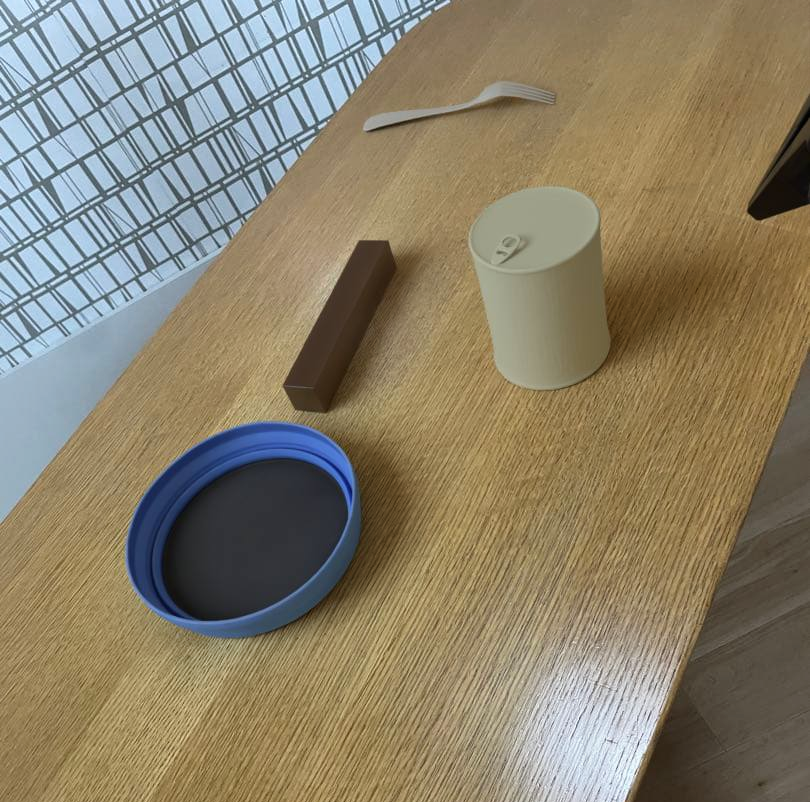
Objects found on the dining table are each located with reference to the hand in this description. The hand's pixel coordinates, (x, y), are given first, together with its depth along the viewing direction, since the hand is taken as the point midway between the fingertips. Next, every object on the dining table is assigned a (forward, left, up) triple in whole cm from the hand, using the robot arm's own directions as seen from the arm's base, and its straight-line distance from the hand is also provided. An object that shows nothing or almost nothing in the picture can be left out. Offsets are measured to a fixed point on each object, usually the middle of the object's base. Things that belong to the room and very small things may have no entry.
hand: (752, 212), depth 52 cm
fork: (-21, -41, -12) cm, 48 cm away
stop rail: (+10, -31, -12) cm, 35 cm away
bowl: (+31, -23, -13) cm, 40 cm away
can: (+5, -13, -12) cm, 19 cm away
